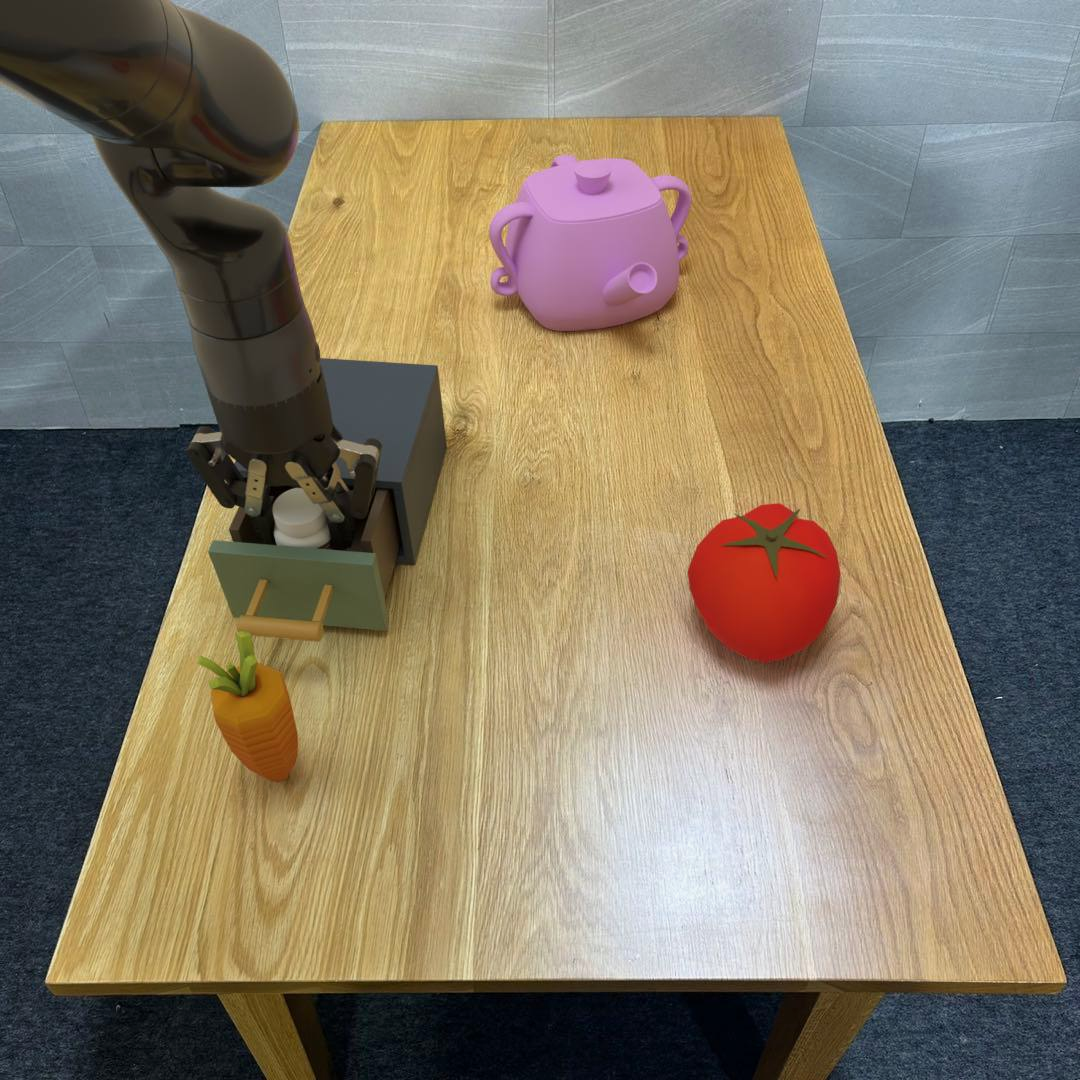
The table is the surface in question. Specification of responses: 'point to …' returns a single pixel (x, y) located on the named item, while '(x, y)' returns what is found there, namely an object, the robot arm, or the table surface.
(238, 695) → the carrot
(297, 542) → the pill bottle
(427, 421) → the cabinet
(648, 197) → the teapot
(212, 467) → the robot arm
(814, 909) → the table surface
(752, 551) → the tomato
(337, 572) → the drawer
